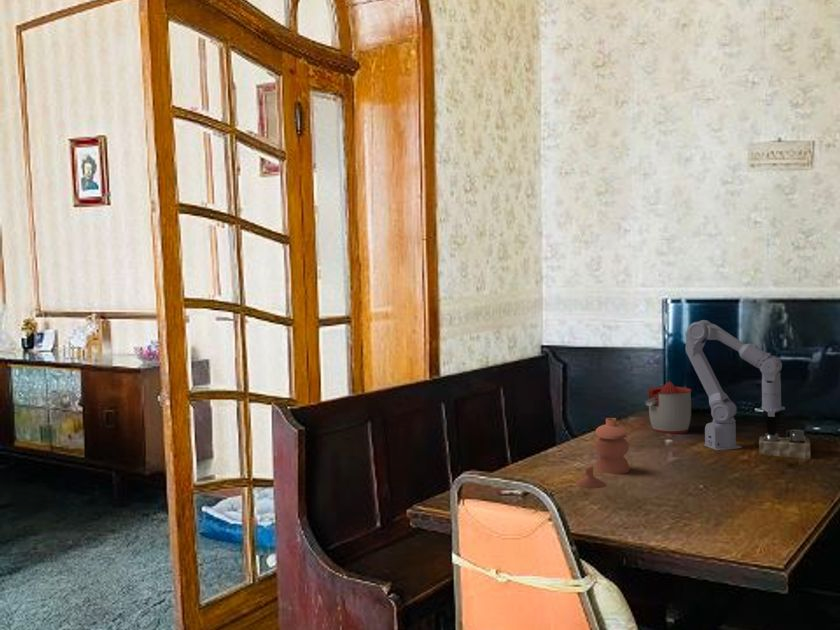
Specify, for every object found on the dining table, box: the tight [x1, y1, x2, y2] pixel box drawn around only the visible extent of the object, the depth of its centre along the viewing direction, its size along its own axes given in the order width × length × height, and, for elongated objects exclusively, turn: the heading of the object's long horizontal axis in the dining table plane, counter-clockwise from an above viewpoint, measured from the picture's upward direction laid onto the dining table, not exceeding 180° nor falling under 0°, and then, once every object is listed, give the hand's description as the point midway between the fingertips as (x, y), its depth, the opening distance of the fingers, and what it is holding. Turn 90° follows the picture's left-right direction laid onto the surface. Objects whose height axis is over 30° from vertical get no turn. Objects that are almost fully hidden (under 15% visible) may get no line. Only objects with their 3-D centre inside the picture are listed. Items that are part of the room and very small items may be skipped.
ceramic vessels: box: [574, 417, 630, 489], centre depth 224 cm, size 35×21×19 cm, turn 148°
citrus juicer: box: [645, 381, 692, 435], centre depth 293 cm, size 16×17×20 cm
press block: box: [758, 436, 811, 460], centre depth 256 cm, size 15×9×5 cm, turn 65°
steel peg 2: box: [789, 429, 805, 443], centre depth 254 cm, size 4×4×5 cm
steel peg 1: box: [764, 432, 779, 442], centre depth 258 cm, size 4×4×5 cm
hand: (771, 434), depth 257 cm, fingers closed, pressing on steel peg 1
